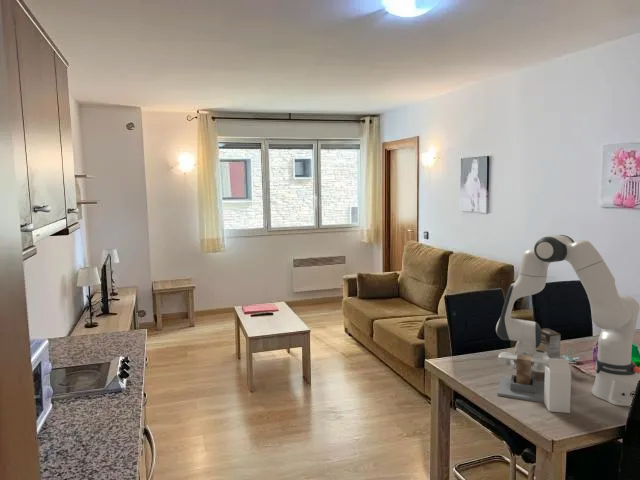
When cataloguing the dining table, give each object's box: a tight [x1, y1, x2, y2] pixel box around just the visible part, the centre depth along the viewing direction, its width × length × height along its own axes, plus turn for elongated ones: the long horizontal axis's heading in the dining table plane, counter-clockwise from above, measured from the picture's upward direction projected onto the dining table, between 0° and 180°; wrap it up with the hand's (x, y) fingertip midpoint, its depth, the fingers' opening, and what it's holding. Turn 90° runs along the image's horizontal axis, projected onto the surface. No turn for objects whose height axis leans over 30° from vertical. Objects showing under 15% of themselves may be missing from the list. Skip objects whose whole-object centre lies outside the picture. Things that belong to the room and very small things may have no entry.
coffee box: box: [536, 327, 562, 359], centre depth 215 cm, size 9×6×16 cm
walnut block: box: [515, 355, 531, 385], centre depth 189 cm, size 5×5×12 cm
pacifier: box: [561, 347, 580, 364], centre depth 219 cm, size 7×6×6 cm
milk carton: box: [544, 358, 572, 414], centre depth 173 cm, size 7×7×19 cm
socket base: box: [497, 374, 545, 403], centre depth 190 cm, size 18×18×4 cm
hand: (523, 367), depth 188 cm, fingers open, 5 cm apart
